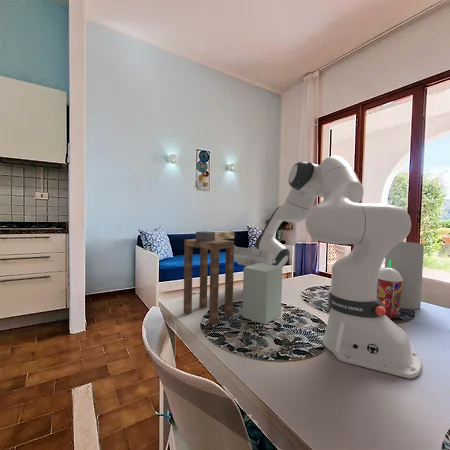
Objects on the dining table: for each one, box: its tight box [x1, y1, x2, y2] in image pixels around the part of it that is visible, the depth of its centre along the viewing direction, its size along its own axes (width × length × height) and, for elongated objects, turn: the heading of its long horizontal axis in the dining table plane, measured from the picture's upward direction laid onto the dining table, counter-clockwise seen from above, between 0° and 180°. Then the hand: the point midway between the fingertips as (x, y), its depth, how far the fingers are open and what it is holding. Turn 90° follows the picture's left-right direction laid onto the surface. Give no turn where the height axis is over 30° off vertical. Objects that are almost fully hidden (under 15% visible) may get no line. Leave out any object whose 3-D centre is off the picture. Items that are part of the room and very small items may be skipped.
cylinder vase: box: [384, 241, 425, 311], centre depth 104 cm, size 12×12×25 cm
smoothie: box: [377, 260, 403, 319], centre depth 93 cm, size 8×8×20 cm
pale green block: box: [242, 263, 283, 326], centre depth 90 cm, size 9×11×17 cm
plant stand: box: [183, 238, 235, 326], centre depth 90 cm, size 14×10×26 cm
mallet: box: [195, 230, 235, 242], centre depth 93 cm, size 17×5×3 cm, turn 142°
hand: (241, 247), depth 105 cm, fingers open, 8 cm apart
